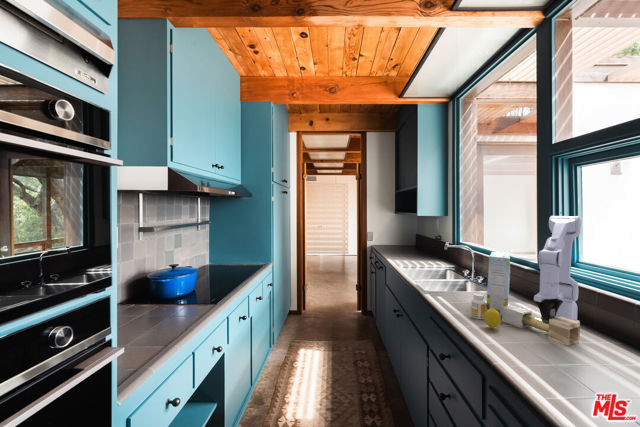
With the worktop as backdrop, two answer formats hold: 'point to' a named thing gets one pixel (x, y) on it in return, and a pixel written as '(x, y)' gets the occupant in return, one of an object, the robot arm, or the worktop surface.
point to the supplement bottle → (478, 306)
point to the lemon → (492, 318)
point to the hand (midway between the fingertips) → (548, 318)
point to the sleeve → (515, 315)
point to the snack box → (498, 281)
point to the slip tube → (538, 321)
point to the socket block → (564, 330)
